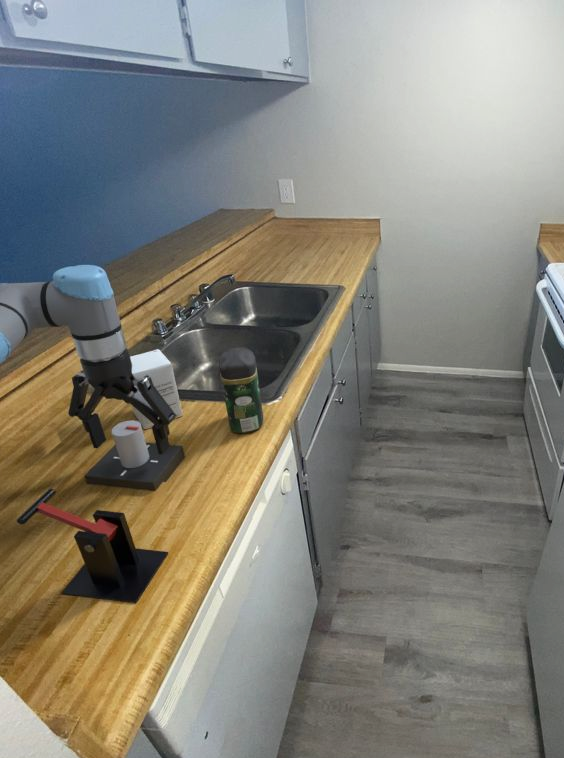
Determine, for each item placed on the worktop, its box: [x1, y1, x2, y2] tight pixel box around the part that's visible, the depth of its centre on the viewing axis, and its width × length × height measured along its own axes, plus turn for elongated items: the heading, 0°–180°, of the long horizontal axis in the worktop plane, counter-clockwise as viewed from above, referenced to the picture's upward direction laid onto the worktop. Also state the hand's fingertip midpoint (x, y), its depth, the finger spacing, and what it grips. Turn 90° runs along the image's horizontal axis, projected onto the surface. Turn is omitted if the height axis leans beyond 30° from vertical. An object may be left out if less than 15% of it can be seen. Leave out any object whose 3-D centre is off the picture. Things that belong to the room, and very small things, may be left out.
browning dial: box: [111, 419, 149, 468], centre depth 93 cm, size 5×5×8 cm
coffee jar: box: [218, 347, 264, 434], centre depth 108 cm, size 10×8×19 cm
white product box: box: [128, 348, 183, 430], centre depth 110 cm, size 9×9×15 cm
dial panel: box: [84, 442, 186, 492], centre depth 96 cm, size 14×11×3 cm
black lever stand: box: [60, 509, 169, 604], centre depth 73 cm, size 12×9×12 cm
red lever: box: [16, 488, 117, 541], centre depth 70 cm, size 12×6×2 cm, turn 85°
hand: (132, 447), depth 94 cm, fingers open, 13 cm apart
